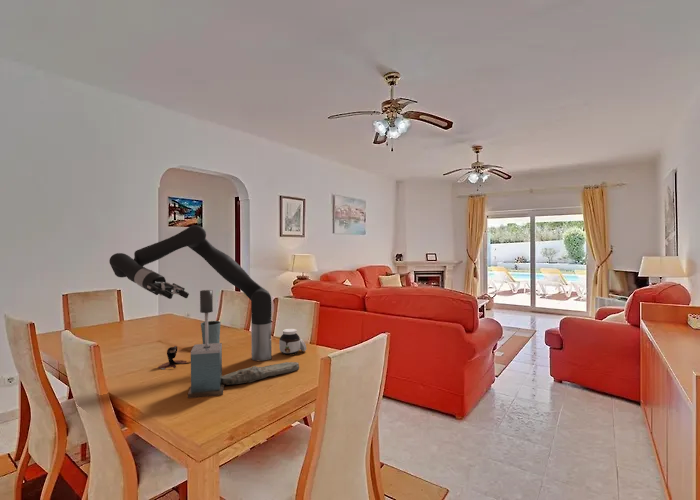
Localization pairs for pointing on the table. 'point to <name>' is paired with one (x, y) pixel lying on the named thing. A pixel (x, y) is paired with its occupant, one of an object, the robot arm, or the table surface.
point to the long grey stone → (258, 373)
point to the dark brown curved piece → (171, 359)
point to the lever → (206, 309)
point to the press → (206, 371)
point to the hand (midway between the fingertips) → (179, 296)
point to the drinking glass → (211, 332)
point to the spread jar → (291, 342)
